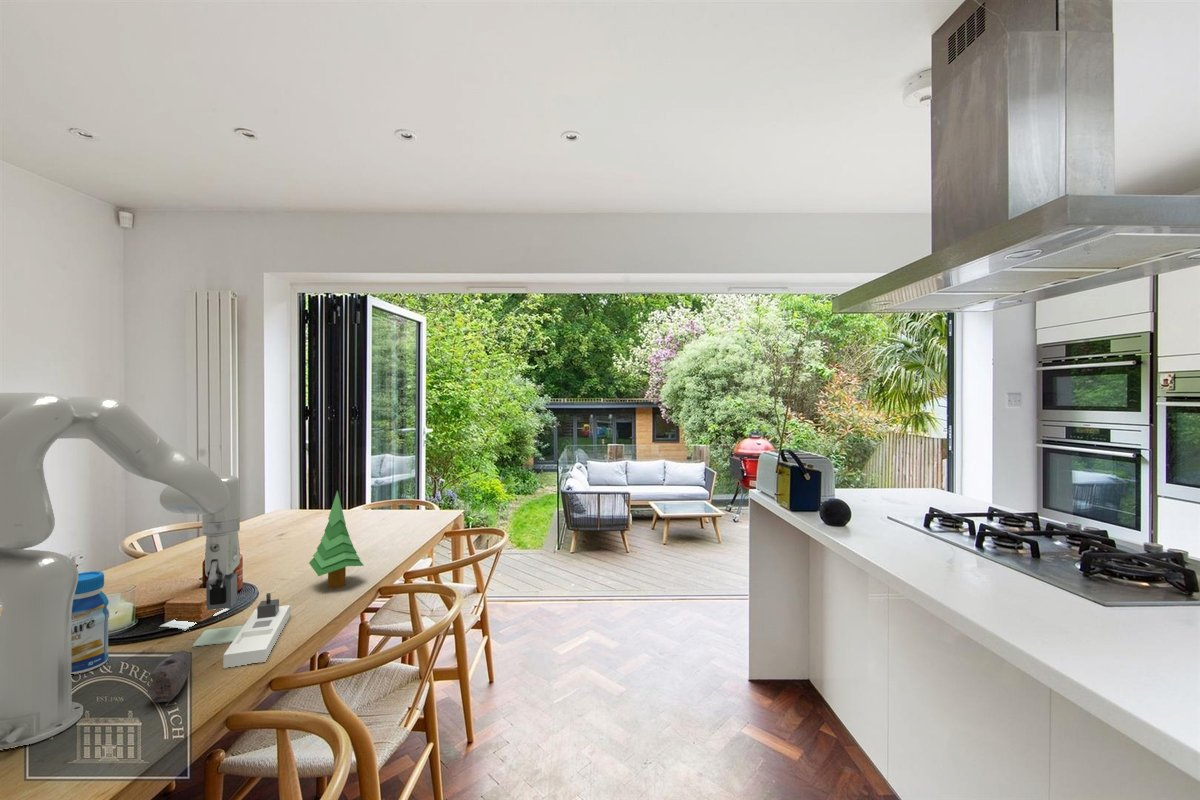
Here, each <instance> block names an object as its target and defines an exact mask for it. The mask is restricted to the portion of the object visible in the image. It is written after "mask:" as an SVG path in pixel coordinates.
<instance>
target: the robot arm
mask: <svg viewBox="0 0 1200 800" xmlns="http://www.w3.org/2000/svg"><path fill="white" fill-rule="evenodd" d="M58 439H59V440H60V439H80V440H81V439H83V440H89V441H91V442H92V443H94V444H95V445H96V446H97V447H98V448H99V449H101V450H102V451H103V452H104V453H105V454H107V455H108V457H110V458H111V459H112V460H114V462H116V464H118V465H119V466H120V467H121V468H123V469H124V470H125V471H127V472H128V473H130V474H133V475H135V476H138V477H141V478H143V479H146V480H150V481H152V482H153V481H154V482H157V483H161V484H164V485H166V486H165V487H164V488H163V489H162V490H161V491H160V494H159V504H160V506H161V507H162V509H165V510H166V511H167V512H171V513H174V514H175V513H176V514H189V515H201V522H202V523H201V525H202V526H201V527H202V528H201V530H202V531H201V533H202V536H204V537H206V539H205V553H204V572H205V576H206V577H207V578H208V579H207V581H209V584H210V586H209V589H210V605H217V604H224V603H225V602H226V587H224V584H225V574H226V575H229V574H230V573H234V571H235V570H236V569H237V567H238V566H240V562H241V556H240V552H241V551H240V540H239V533H238V532H240V530H241V529H240V528H241V527H240V526H241V524H240V522H241V521H240V520H241V519H240V518H241V517H240V516H241V515H240V513H241V512H240V511H241V510H240V508H241V507H240V499H241V498H240V480H239V478H238V477H237V476H236V475H235V476H234V475H226V474H225V475H217V473H216V472H215V471H214V470H213V469H211V468H210V467H209V466H208V465H206V464H204V463H203V462H201V461H200V460H198V459H196V458H194V457H192V456H191V455H189V454H187V453H185V452H183V451H182V450H180V449H178V448H176V447H174V446H172V445H170V444H168V443H167V442H166V441H165V440H164V439H163V437H161V436H160V435H159V434H158V433H157V432H156V431H154V429H152V427H151V426H150V425H149V424H148V423H146V422H145V421H144V419H142V417H141V416H139V415H138V413H136V412H135V411H134V410H133V409H132V408H131V407H130V406H129V405H128V404H126V402H124V401H121V400H120V399H118V398H113V397H106V396H59V395H56V394H53V393H44V392H0V606H1V608H2V610H1V612H0V749H5V748H11V747H15V746H21V745H27V746H29V744H30V745H32V744H36V743H39V742H42V741H43V740H47V739H49V738H51V737H53V736H56V735H58V734H60V733H62V732H64V731H66V730H67V729H69V728H70V727H72V726H73V725H74V724H76V723H77V722H79V720H80V719H81V718H82V717H83V714H84V705H83V704H81V703H80V702H76V701H72V699H73V698H72V694H73V693H72V675H71V615H72V605H73V599H74V595H75V591H76V587H77V583H78V573H79V570H78V567H77V565H76V563H75V562H74V560H72V559H71V558H70V557H68V556H66V555H65V554H63V553H58V552H54V551H50V550H49V551H48V550H37V549H28V548H32V547H36V546H38V545H40V544H41V543H42V544H43V543H44V542H45V541H47V539H49V538H50V537H51V535H52V533H53V531H54V529H55V522H56V521H55V513H54V509H53V505H52V502H51V497H50V494H49V493H50V492H49V489H48V486H47V482H46V478H45V471H44V470H45V469H44V461H45V457H46V454H47V452H48V451H49V449H50V448H51V446H53V444H54V443H55V442H56V441H57V440H58ZM218 574H221V575H218ZM218 577H221V582H220V580H219V579H217V578H218Z"/></svg>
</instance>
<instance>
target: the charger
mask: <svg viewBox="0 0 1200 800" xmlns="http://www.w3.org/2000/svg"><path fill="white" fill-rule="evenodd" d="M217 575H221V574H219V573H217ZM217 579H219V580H220V582H221V577H218V578H217ZM205 583H206V586H205V590H206V593H205V594H206V596H205V597H206V606H207V610H216V609H224V608H228V609H231V608H232V607H233V606H234V605H235V604H236V603H237V601H238V572H233V573H230V574H229V575H226V574H225V584H224V587H226V602H225V603H224V604H217V605H210V589H209V586H210V584H209V581H208V580H207V581H206V582H205Z"/></svg>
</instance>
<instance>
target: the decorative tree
mask: <svg viewBox="0 0 1200 800" xmlns="http://www.w3.org/2000/svg"><path fill="white" fill-rule="evenodd" d="M346 525H347V524H346V519H345V516H344V511H343V507H342V504H341V499H340V496H339V491H338V490H336V493H335V496H334V499H333V502H332V506H331V508H330V513H329V515H328V522H327V523H326V526H325V529H324V534H323V535H322V537H321V539H320V543H319V544H318V546H317V547H316V551H315V552H314V554H313V555H312V557H313V558H312V559H311V560H310V561H309V562H308V564H309V565H310V566H311V568H312V569H313V570H314V572H315V573H316V575H317V576H318V577H321V576H323V575H326V574H327V577H328V578H327V587H328V588H330V589H337V588H339V587H340V588H342V587H344V586H345V585H346V583H347V582H346V579H347V578H346V575H347V574H346V572H347V571H346V570H347V569H346V568H347V567H364V563H362V560H361V558H360V557H359V556H358V554H357V553H358V552H357V551H356V549H355V547H354V544H353V542H352V540H351V537H350V535H349V531H348V528H347V526H346ZM340 588H339V589H340Z"/></svg>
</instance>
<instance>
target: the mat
mask: <svg viewBox="0 0 1200 800" xmlns="http://www.w3.org/2000/svg"><path fill="white" fill-rule="evenodd" d="M244 625H245V624H241V625H235V626H227V627H226V626H225V627H218V628H210V629H209V628H208V629H205V630H204V631H203V632H202V633H201V635H200V636H199V637H198V638H197V639H196V641H195V642H194V643H193V644H192V645H191V648H192V647H193V648H195V647H194V646H201V647H205V646H204V645H209V646H213V645H212V644H216V645H221V644H222V645H223V643H224V644H230V642H233V641H234V639H235V638H236V636H237V635H238V633H239V632H240V631H241V629H242V628H243V626H244Z"/></svg>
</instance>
